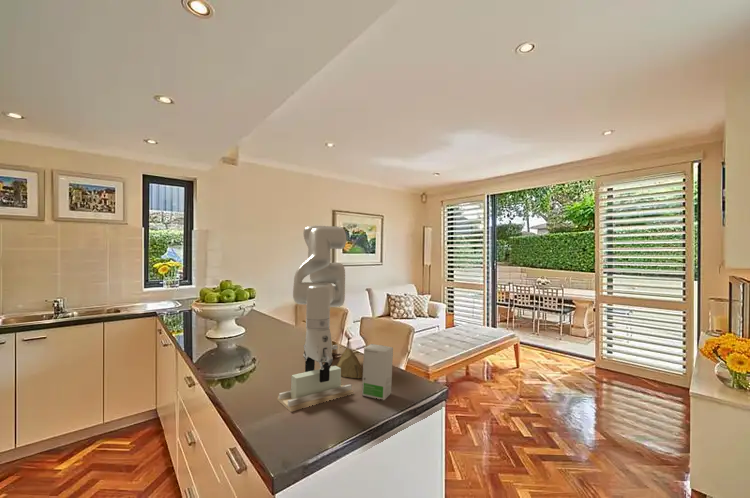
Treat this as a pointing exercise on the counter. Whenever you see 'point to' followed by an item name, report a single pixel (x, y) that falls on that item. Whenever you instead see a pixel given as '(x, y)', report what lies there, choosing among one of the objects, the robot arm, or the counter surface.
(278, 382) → the counter surface
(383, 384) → the skincare box
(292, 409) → the bottom track
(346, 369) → the rock
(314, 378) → the door panel
